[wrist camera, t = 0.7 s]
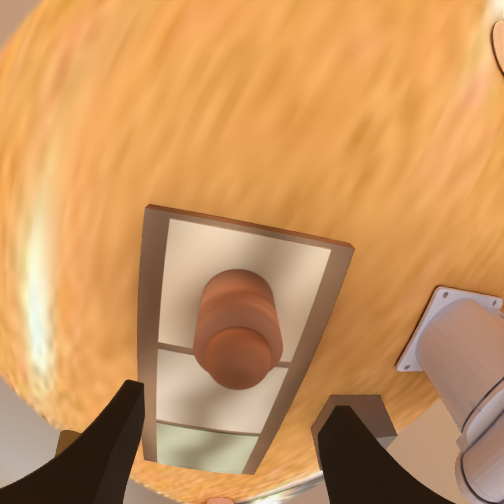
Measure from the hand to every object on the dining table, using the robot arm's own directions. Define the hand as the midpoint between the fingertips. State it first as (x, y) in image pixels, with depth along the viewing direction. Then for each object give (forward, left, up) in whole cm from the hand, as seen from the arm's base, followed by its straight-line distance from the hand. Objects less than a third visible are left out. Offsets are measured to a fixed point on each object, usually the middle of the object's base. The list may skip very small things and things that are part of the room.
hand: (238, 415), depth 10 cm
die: (-12, +11, -10) cm, 19 cm away
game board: (0, +9, -9) cm, 13 cm away
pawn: (0, 0, -8) cm, 8 cm away
